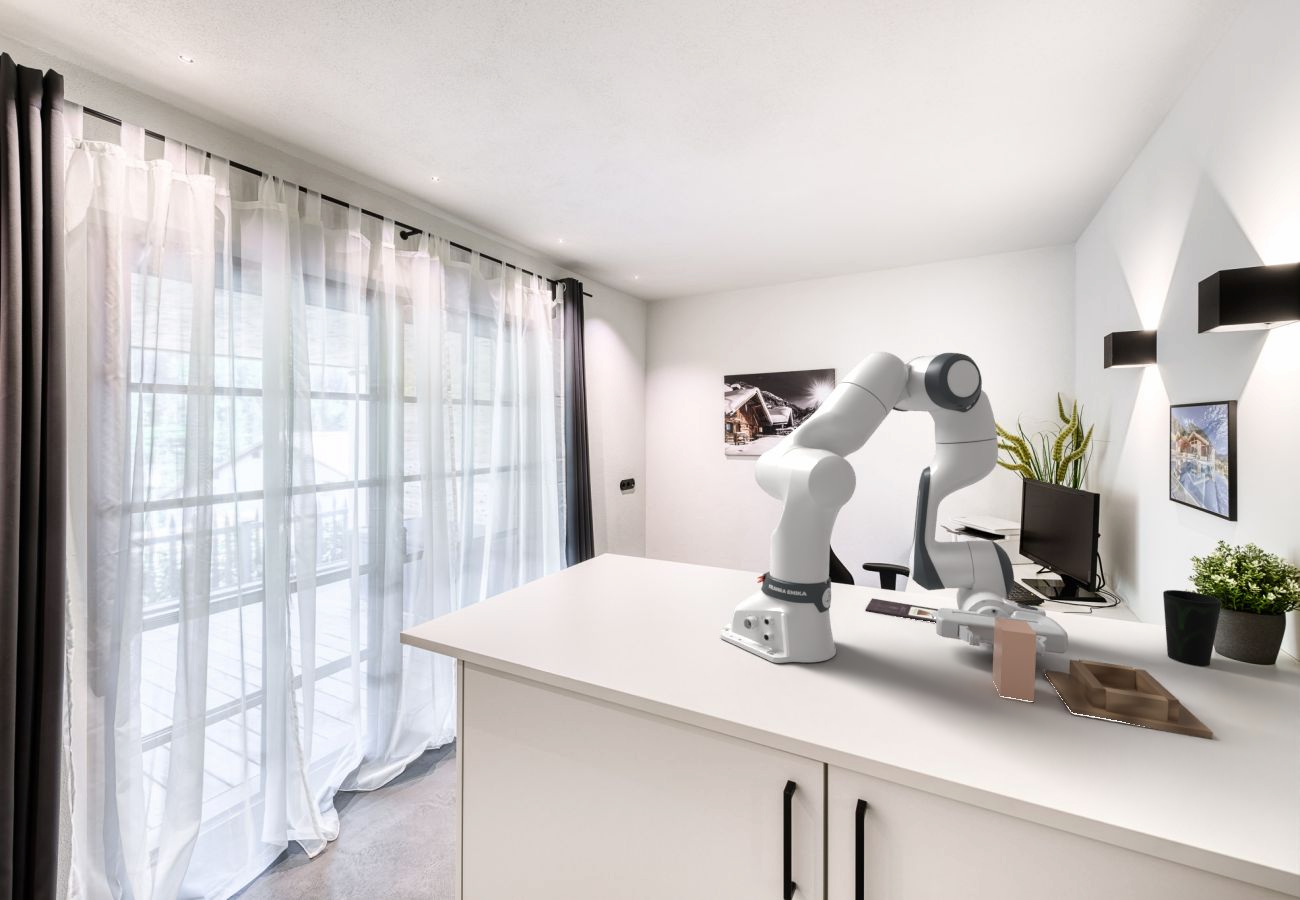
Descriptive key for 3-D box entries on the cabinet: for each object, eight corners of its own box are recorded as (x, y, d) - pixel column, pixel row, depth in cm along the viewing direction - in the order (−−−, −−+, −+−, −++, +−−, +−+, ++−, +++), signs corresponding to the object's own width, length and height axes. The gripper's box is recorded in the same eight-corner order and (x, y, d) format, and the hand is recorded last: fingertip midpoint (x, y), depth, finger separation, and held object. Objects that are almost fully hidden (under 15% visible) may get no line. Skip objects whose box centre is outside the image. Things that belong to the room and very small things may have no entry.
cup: (1201, 654, 103) (1205, 592, 102) (1228, 671, 96) (1232, 605, 95) (1151, 648, 106) (1154, 588, 105) (1174, 665, 98) (1177, 600, 98)
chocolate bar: (872, 598, 134) (955, 612, 124) (872, 602, 134) (955, 616, 124) (865, 609, 126) (953, 624, 117) (865, 613, 126) (953, 628, 117)
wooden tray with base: (1071, 714, 81) (1073, 689, 81) (1044, 675, 94) (1045, 652, 94) (1212, 739, 75) (1213, 711, 75) (1162, 692, 88) (1163, 668, 88)
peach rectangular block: (1000, 697, 86) (1002, 630, 86) (992, 681, 92) (994, 617, 91) (1033, 703, 85) (1036, 634, 84) (1023, 686, 90) (1026, 621, 90)
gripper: (930, 596, 109) (938, 618, 96) (1053, 610, 101) (1080, 636, 88) (929, 626, 109) (937, 653, 96) (1052, 643, 101) (1078, 674, 88)
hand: (1006, 645), depth 92 cm, fingers open, 8 cm apart
